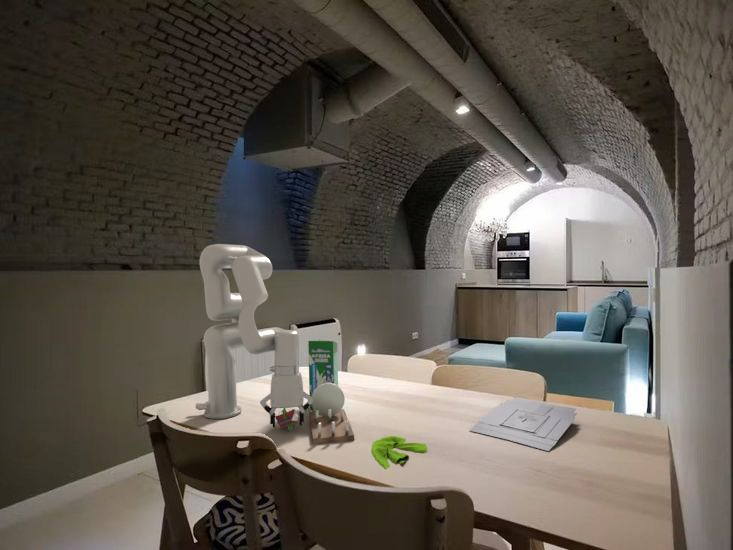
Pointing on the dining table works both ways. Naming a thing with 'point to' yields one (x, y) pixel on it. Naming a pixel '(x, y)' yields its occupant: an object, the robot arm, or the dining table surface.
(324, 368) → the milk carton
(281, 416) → the geometric puzzle
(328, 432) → the dish rack
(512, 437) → the papers
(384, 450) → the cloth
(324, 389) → the sage plate
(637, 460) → the dining table surface
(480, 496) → the dining table surface
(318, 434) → the rack tines
